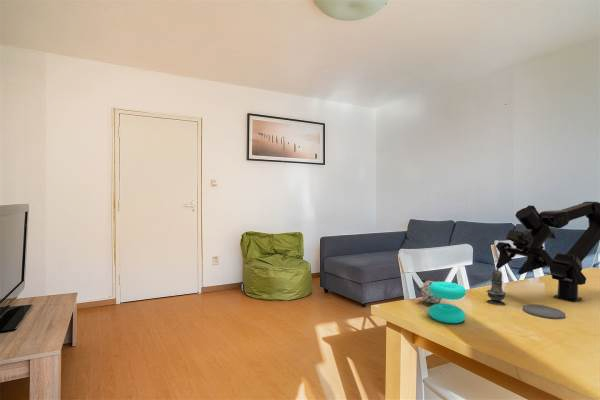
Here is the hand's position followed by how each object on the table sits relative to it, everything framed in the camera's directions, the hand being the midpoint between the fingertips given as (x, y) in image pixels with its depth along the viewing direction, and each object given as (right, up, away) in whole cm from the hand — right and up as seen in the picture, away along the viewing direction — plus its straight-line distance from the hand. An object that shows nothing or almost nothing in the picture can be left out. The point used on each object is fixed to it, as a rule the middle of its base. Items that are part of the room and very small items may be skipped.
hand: (507, 270), depth 118 cm
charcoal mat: (+5, -11, -10) cm, 16 cm away
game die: (-27, -11, -3) cm, 30 cm away
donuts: (-28, -11, -17) cm, 35 cm away
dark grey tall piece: (-4, -11, -1) cm, 12 cm away
